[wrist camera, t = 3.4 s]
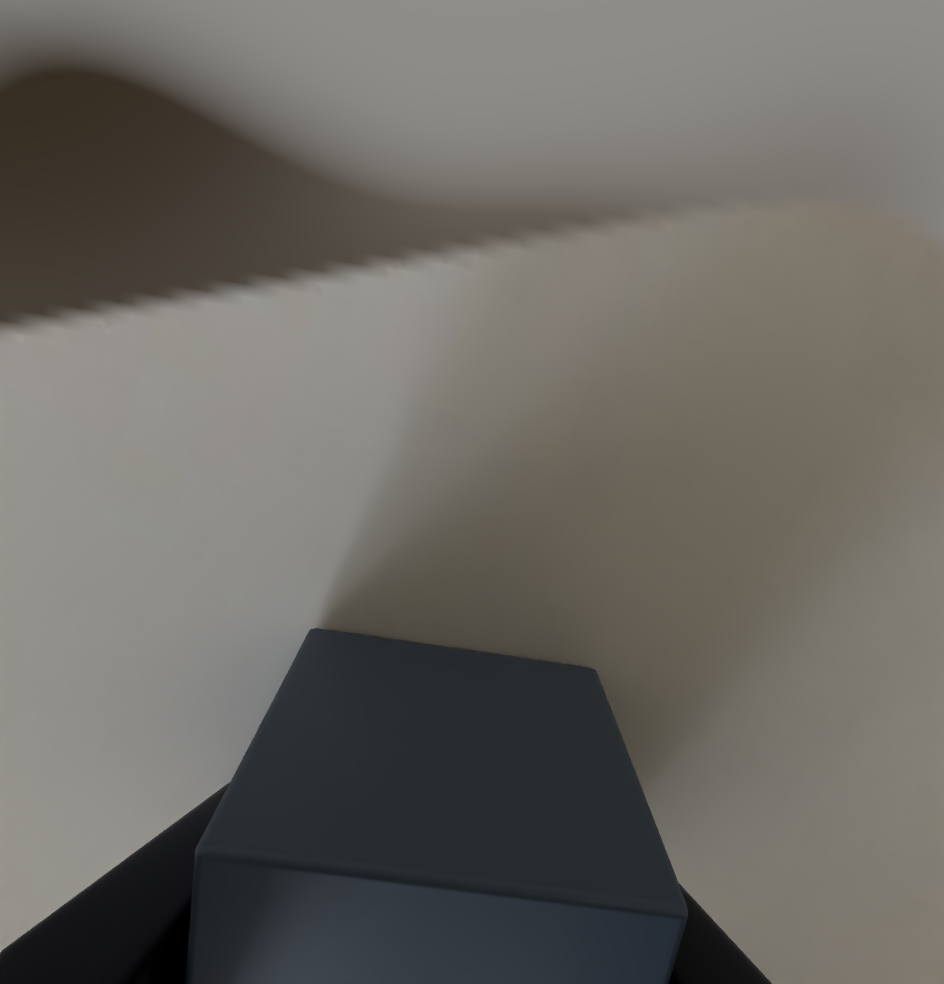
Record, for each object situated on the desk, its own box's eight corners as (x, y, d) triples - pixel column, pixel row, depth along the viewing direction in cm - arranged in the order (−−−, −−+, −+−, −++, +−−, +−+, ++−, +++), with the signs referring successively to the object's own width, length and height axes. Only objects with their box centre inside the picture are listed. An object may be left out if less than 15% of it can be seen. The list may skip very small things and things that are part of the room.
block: (597, 665, 9) (694, 912, 5) (544, 900, 10) (593, 1256, 6) (310, 624, 9) (190, 847, 5) (282, 867, 10) (164, 1215, 6)
